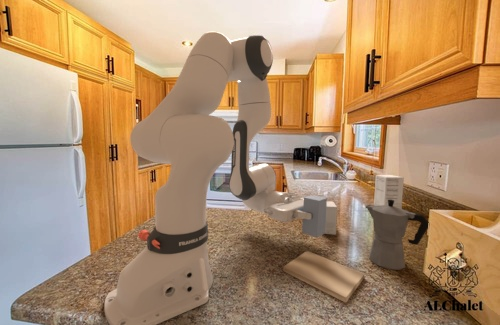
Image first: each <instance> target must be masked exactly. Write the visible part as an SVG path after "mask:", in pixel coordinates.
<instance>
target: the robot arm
mask: <svg viewBox="0 0 500 325" xmlns="http://www.w3.org/2000/svg"><path fill="white" fill-rule="evenodd" d="M273 60H274V56H273V49H272V46H271V44H270V42H269V40H268V39H267V38H266V36H264V35H262V34H252V35H248V36H247V37H243V38H242V37H241V38H237V39H233V40H230V39H229V37H227V36H226V35H224V34H223V33H221V32H218V31H215V30H214V31H207V32H206V33H204V34H202V36H201V37H200V38H199V39H198V40H197V41H196V43H195V44H194V46H193V47H192V49H191V50H190V53H189V54H188V56H187V58H186V59H185V63H184V65H183V67H182V68H181V71H180V73H179V75H178V77H177V79H176V81H175V83H174V85H173V87H172V88H171V90H170V91H169V92H168V93H167V95H166V96H165V97H164V98H163V99H162V100H161V101H160V103H159V104H158V105H157V106H156V107H155V109H153V111H152V112H151V113H150V114H149V115H148V116H146V117H145V118H143V119H142V120H140V121H139V122H138V123H137V122H136V124H135V125H134V126H133V128H132V130H131V133H130V140H129V141H130V145H131V148H132V149H133V151H134V152H135V154H136V155H137V156H139V157H140V158H142V159H145V160H147V161H149V162H152V163H156V164H162V165H163V164H164V165H170V172H169V174H168V178H167V180H166V182H165V183H164V184H163V185H162V186H160V187H159V188H158V189H157V191H156V192H155V195H154V218H155V220H154V222H155V225H154V227H153V230H152V231H151V232H149V231H148V230H146V229H142V230H139V232H138V239H140V240H142V242H146V246H145V248H144V249H142V250H141V251H140V252H139V253H138V254H137V255H136V256H135V257H134V258H133V259H132V260H131V261H130V262H128V264H127V265H125V266H124V267H123V269H122V270H121V271H120V274H119V276H118V280H117V285H116V288H114V289H113V290H111V291H110V292H108V294H107V295H106V297H105V299H104V305H103V310H104V311H103V312H104V316H105V318H106V320H107V322H108V325H158V324H161V323H163V322H166V321H168V320H170V319H172V318H175V317H177V316H179V315H182V314H184V313H186V312H189V311H191V310H193V309H195V308H198V307H199V306H202V305H204V304H207V303H208V301H209V297H210V295H209V294H210V293H209V291H210V290H211V287H212V286H213V282H214V275H213V272H212V269H211V265H210V261H209V254H208V245H207V244H208V243H207V242H208V239H209V224H208V221H207V196H208V191H209V190H208V189H209V185H210V183H211V180H212V178H213V176H214V174H215V173H216V171H217V170H218V168H220V167H221V166H222V165H223V164H224V163H226V162H227V160H228V159H229V158H230V156H231V164H230V165H231V167H230V175H229V180H228V187H229V190H230V192H231V194H232V195H233V196H234V197H236V198H237V199H239V200H241V201H242V203H243V205H245V206H246V207H247V208H249V210H252V211H255V212H257V213H263V214H266V215H268V217H269V218H271V219H273V220H275V221H277V222H280V223H289V222H291V221H295V220H297V219H301V220H303V219H308V220H310V219H312V218H313V213H310V212H303V204H304V197H305V196H303V195H298V193H296V192H284V191H277V173H276V171H275V169H274V168H273V167H272V166H271V165H270V164H268V163H265V162H262V163H258V164H256V165H253V166H250V146H251V144H252V143H251V142H252V141H253V140H254V137H255V136H256V135H257V134H259V133H260V132H261V131H262V130H263V129H265V128H266V127H267V126H268V125H269V123H270V121H271V118H272V105H271V94H270V88H269V87H270V86H269V84H268V79H267V77H268V75H269V73H270V71H271V69H272V66H273ZM228 82H229V83H230V82H236V84H237V103H238V104H237V108H238V111H237V112H238V114H237V120H236V122H235V124H234V125H233V127H232V128H231V126H230V124H229V123H228V122H227V120H225V119H224V118H222V117H218V116H214V115H212V114H213V113H215V111H217V109H218V108H219V106H220V104H221V103H222V99H223V97H224V93H225V91H226V88H227V84H228Z"/></svg>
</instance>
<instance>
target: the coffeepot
mask: <svg viewBox="0 0 500 325" xmlns="http://www.w3.org/2000/svg"><path fill="white" fill-rule="evenodd" d="M393 204H394V200H388V205H381V206H376V205H374V204H373V205H372V204H370V205H366V206H365V208H366V209H367V210H368V212H369V215H370V216H371V218H372V220H373V221H372V222H373V231H374V235H373V238H372V242H371V247H370V249H369V250H370V251H369V254H368V255H369V256H368V259H369V260H370V261H371V262H372V263H373V264H374V265H376V266H378V267H381V268H384V269H388V270H391V271H399V270H403V269H405V268H406V261H405V252H404V245H403V244H404V243H403V238H404V237H405V234H406V232H407V231H406V230H407V227H408V225H409V221H413V222H415V221H416V222H419V223H420V225H419V226H418V229H417V232H416V233H415V234H414V239H410V238H408V239H407V241H408V243H409V244H411V245H414V246H415V245H416V246H417V245H419V244H420V242H421V241H422V238H423V237H424V236H425V234H426V232H427V230H428V229H429V228H428V223H429V224H430V222H429V221H428V219H427V218H426V217H425V216H424V215H423V214H421V213H420V214H419V213H414V212H410V211H409V210H406V209H403V208H402V209H400V208H397V207H394V206H393Z"/></svg>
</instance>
